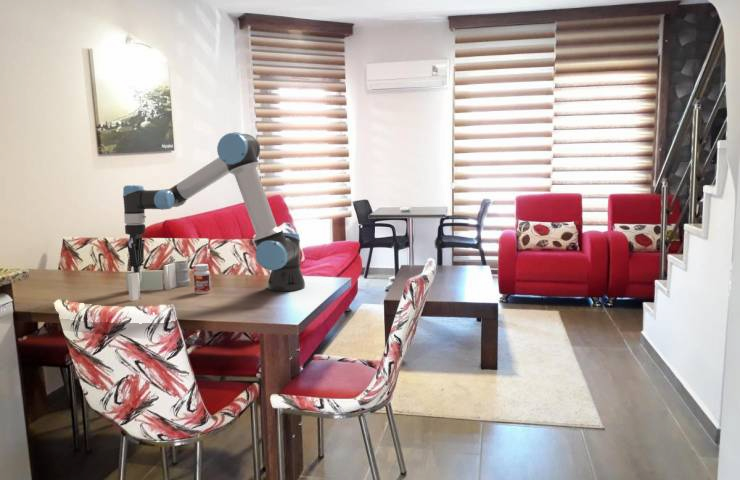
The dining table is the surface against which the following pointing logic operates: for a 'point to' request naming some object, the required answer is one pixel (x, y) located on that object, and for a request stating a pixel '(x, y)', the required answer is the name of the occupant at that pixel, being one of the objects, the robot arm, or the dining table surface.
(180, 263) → the mug
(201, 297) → the dining table surface
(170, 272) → the frame
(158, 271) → the grey green panel
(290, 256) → the robot arm
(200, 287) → the pill bottle
